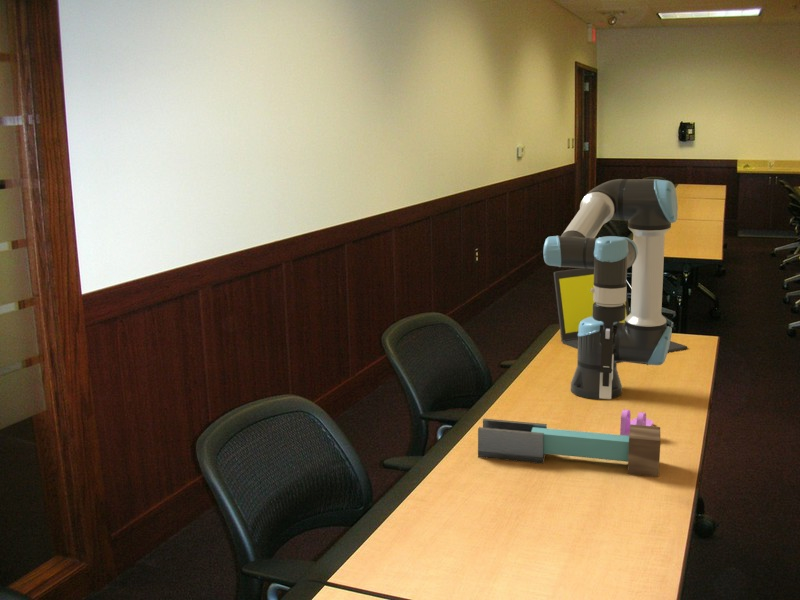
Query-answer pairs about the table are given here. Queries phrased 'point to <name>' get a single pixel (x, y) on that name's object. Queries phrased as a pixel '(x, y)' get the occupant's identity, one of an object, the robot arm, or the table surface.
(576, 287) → the laptop
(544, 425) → the sleeve
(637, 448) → the socket block
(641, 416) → the bracket
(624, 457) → the bar
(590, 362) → the robot arm
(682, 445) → the table surface
